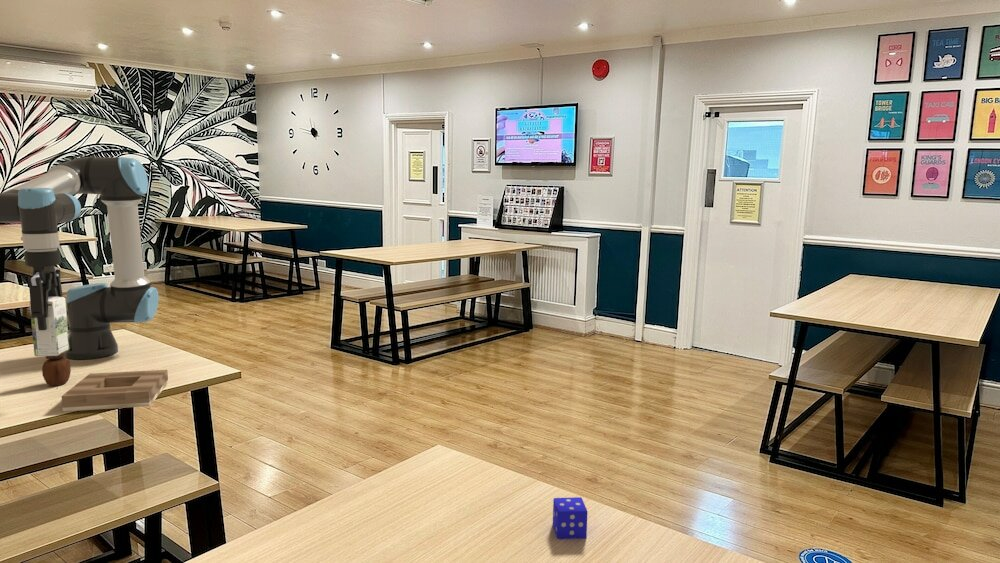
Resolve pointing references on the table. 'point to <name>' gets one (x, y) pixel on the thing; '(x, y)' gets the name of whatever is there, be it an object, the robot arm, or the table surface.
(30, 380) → the table surface
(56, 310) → the syrup box
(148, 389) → the socket block
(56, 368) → the wooden figurine
